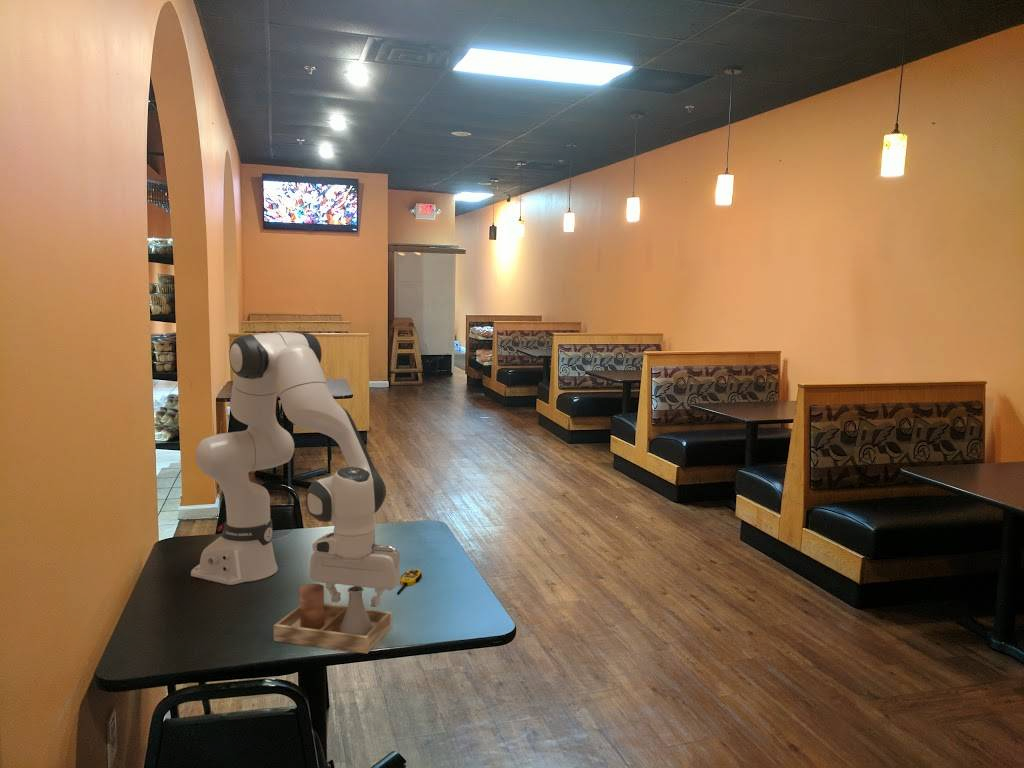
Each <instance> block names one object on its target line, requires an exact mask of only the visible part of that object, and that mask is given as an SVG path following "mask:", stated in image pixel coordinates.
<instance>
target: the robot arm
mask: <svg viewBox="0 0 1024 768" xmlns="http://www.w3.org/2000/svg"><path fill="white" fill-rule="evenodd" d="M228 350H229V351H228V357H229V358H228V361H229V364H230V367H231V370H232V371H233V372H234V374H233V380H232V387H231V395H230V403H229V410H230V412H231V415H232V416H233V418H234V419H235V420H237V421H238V422H240V423H242V424H244V425H247V428H246V429H245V430H241V431H232V432H231V431H230V432H224V433H218V434H215V435H211V436H208V437H205V438H202V439H201V440H200V442H199V443H198V445H197V447H196V449H195V454H194V455H195V456H194V457H195V458H194V459H195V462H196V465H197V467H198V468H199V470H200V471H201V472H202V473H204V475H207V476H208V477H210V478H211V479H213V480H214V481H215V482H216V483H217V484H218V486H219V487H220V489H221V491H222V493H223V496H224V501H225V502H224V503H225V511H226V522H223V524H221V525H219V526H217V528H218V529H217V531H218V532H219V531H222V532H221V534H220V536H219V537H217V539H214V540H213V542H211V543H209V544H208V545H207V546H206V547H205V548H204V549H203V550H202V553H200V554H201V555H200V559H199V560H200V561H199V564H197V565H196V566H194V567H193V568H192V569H191V571H190V576H191V577H194V578H199V579H201V580H202V579H203V580H206V581H211V582H215V583H219V584H224V585H228V586H231V585H237V584H241V583H245V582H253V581H259V580H263V579H266V578H269V577H271V576H272V575H274V574H276V573H277V572H278V570H279V567H278V564H277V561H276V558H275V557H276V556H275V554H274V553H275V552H274V547H273V519H272V518H271V499H270V497H271V496H270V494H269V491H268V489H267V488H266V487H264V486H263V485H261V484H258V483H255V482H253V481H251V480H250V478H249V477H250V475H249V473H250V472H256V471H261V470H266V469H267V470H268V469H273V468H276V467H279V466H282V465H285V464H287V463H289V462H290V461H291V459H292V458H293V455H294V452H295V441H294V439H293V436H292V435H291V433H290V432H289V431H288V430H286V429H285V428H284V427H282V426H281V425H280V424H279V422H278V420H277V415H276V414H277V413H276V411H277V410H276V409H277V408H276V407H277V398H278V395H279V399H280V404H281V407H282V411H283V412H284V414H285V416H286V418H287V419H288V421H289V422H291V423H292V424H293V425H295V426H297V428H298V427H299V428H301V429H303V430H307V431H312V432H316V433H320V434H323V435H326V436H328V437H329V438H332V440H334V441H335V442H336V443H337V444H338V445H339V448H340V450H341V453H342V455H343V457H344V459H345V462H346V464H347V465H348V466H347V467H341V468H339V469H338V470H337V471H335V473H334V474H333V475H331V476H327V477H324V478H323V477H322V478H320V479H318V480H315V481H313V482H312V483H311V484H310V486H309V487H308V489H307V491H306V495H305V505H306V511H307V512H308V514H310V516H311V517H312V518H313V519H315V520H316V521H319V522H324V523H327V522H328V523H329V522H331V523H333V524H334V526H333V532H329V533H327V534H325V535H323V536H321V537H319V538H317V540H315V541H314V542H313V543H312V551H313V552H312V554H311V557H310V563H309V577H310V578H311V580H312V581H313V582H317V583H324V584H325V588H326V590H327V591H328V593H329V595H330V602H331V603H339V602H340V601H341V599H342V596H341V595H342V592H340V591H338V590H337V588H336V585H344V586H350V587H354V586H359V587H362V588H370V589H374V590H375V591H374V592H375V593H376V595H375V596H373V597H372V598H370V607H371V608H372V607H374V608H379V606H380V605H381V597H382V596H383V594H384V593H385V591H386V590H387V591H393V590H395V588H397V587H398V585H400V581H401V568H400V552H399V551H398V549H396V548H394V546H392V545H382V544H376V525H375V523H374V522H375V521H374V516H375V515H374V514H375V513H377V512H378V511H379V510H380V508H381V507H382V505H383V503H384V501H385V499H386V497H387V487H386V484H385V481H384V480H383V478H382V476H381V474H380V473H379V472H378V470H377V469H376V467H375V465H374V464H373V461H372V459H371V457H370V455H369V452H368V450H367V448H366V445H365V443H364V441H363V439H362V436H361V434H360V433H359V430H358V428H357V426H356V424H355V421H354V420H353V418H352V415H351V414H350V413H349V411H348V410H347V409H346V408H344V407H342V406H341V405H340V404H339V403H338V402H337V401H336V400H335V398H334V396H333V395H332V393H331V391H330V389H329V386H328V383H327V378H326V375H325V373H324V370H323V368H322V365H321V361H322V355H323V353H322V346H321V344H320V342H319V339H317V337H316V336H315V335H314V334H311V333H308V332H304V331H303V332H302V331H298V332H289V331H288V332H287V331H273V332H267V333H266V332H265V333H259V334H253V335H252V334H251V333H250V334H245V335H241V336H238V337H236V338H235V339H234V340H233V341H232V342H231V344H230V347H229V349H228Z"/></svg>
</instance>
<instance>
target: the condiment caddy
mask: <svg viewBox="0 0 1024 768" xmlns="http://www.w3.org/2000/svg"><path fill="white" fill-rule="evenodd" d="M324 593H325V587H324V585H323V584H321V583H309V584H304V585H302V586H301V587H299V605H298V606H297V607H296V608H294V609H293V610H292V611H290V612H289V613H288V614H286V615H285V616H284V617H282V618H281V619H280V620H278V621H277V622H276V623H275V624H273V625H272V627H273V641H274V642H279V643H287V644H294V645H301V646H302V645H303V646H307V647H308V646H309V647H317V648H323V649H330V650H337V651H338V650H339V651H343V652H345V651H346V652H351V653H352V652H353V653H359V654H366V655H367V654H368V653H369V652H370V651H371V650H372V649H373V648H374V647H375V646H376V645H377V644H378V642H379V641H380V640H382V638H383V637H384V636H385V635H386V634H387V633H388V631H390V630H391V628H392V627H393V625H392V624H393V620H392V618H393V617H392V614H393V612H392V611H387V610H386V611H384V610H376V609H368V608H365V609H366V612H367V614H368V617H369V619H370V621H371V624H372V626H373V628H372V629H371V630H370V631H369V632H368V633H367V634H366V635H365V636H364V635H356V634H348V633H341V632H339V629H340V627H341V624H342V621H343V619H344V616H345V613H346V610H347V607H348V606H345V605H337V604H335V605H334V604H329V603H327V604H326V603H325V594H324Z"/></svg>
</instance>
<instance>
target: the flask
mask: <svg viewBox="0 0 1024 768" xmlns="http://www.w3.org/2000/svg"><path fill="white" fill-rule="evenodd" d="M364 588H365V587H359V586H350V587H349V588H348V589H347V592H348V602H347V603H348V604H347V606H346V607H347V610H346V613H345V616H344V619H343V621H342V624H341V627H340V629H339V632H341V633H348V634H356V635H364V636H365V635H366V634H367V633H368V632H369V631H370V630H371V629H372V628H373V626H372V624H371V621H370V619H369V617H368V614H367V612H366V609H367V608H366V607H365V604H364V598H363V591H364V590H365V589H364Z"/></svg>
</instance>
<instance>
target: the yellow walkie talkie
mask: <svg viewBox="0 0 1024 768" xmlns="http://www.w3.org/2000/svg"><path fill="white" fill-rule="evenodd" d="M400 577H401V581H400V583H399V585H400V586H401V587H400V588H399V590H398V591H397V592H396V594H397V595H400V593H401V592H402V591H403V589H404V588H406V587H412V586H414V585H416V584H417V583H419V582H420V581H421V579H422V570H421V569H419V568H411V569H409V570H408V571H405V572H404V573H403V574H402V575H400Z"/></svg>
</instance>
